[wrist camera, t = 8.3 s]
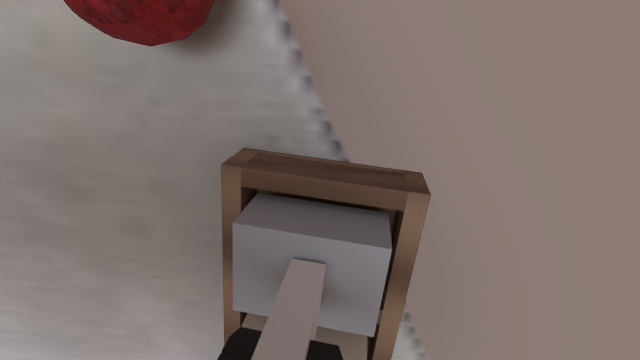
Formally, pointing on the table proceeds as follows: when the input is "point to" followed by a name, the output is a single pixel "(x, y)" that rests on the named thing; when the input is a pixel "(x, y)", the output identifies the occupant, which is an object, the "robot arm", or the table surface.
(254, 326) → the cream key
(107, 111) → the table surface
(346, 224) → the slate key
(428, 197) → the wooden compartment tray
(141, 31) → the onion
